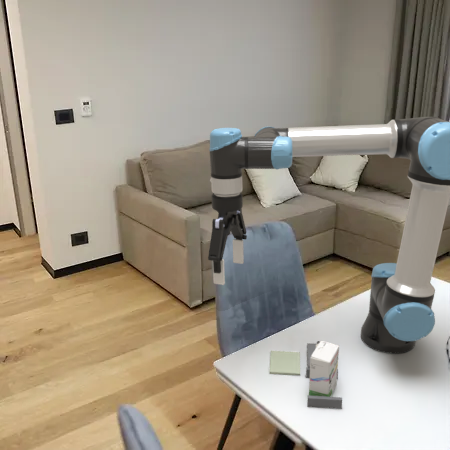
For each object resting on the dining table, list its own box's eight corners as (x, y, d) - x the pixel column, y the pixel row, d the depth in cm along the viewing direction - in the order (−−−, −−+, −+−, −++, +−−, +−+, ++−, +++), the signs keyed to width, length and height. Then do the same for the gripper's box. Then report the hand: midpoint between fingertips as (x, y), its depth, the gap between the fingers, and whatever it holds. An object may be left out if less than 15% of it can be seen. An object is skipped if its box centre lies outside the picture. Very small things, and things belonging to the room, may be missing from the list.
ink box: (327, 404, 123) (330, 362, 120) (307, 398, 126) (309, 356, 122) (337, 384, 131) (340, 344, 127) (318, 379, 133) (320, 339, 129)
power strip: (332, 344, 148) (333, 333, 147) (341, 409, 122) (342, 395, 121) (304, 343, 149) (304, 332, 148) (307, 406, 123) (308, 393, 122)
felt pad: (299, 354, 144) (299, 352, 144) (300, 375, 134) (300, 373, 134) (270, 352, 145) (270, 350, 145) (269, 373, 135) (269, 371, 135)
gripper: (230, 179, 138) (232, 253, 145) (191, 206, 116) (195, 291, 123) (257, 181, 135) (258, 256, 142) (222, 208, 113) (224, 295, 120)
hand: (229, 272), depth 132 cm, fingers open, 13 cm apart
